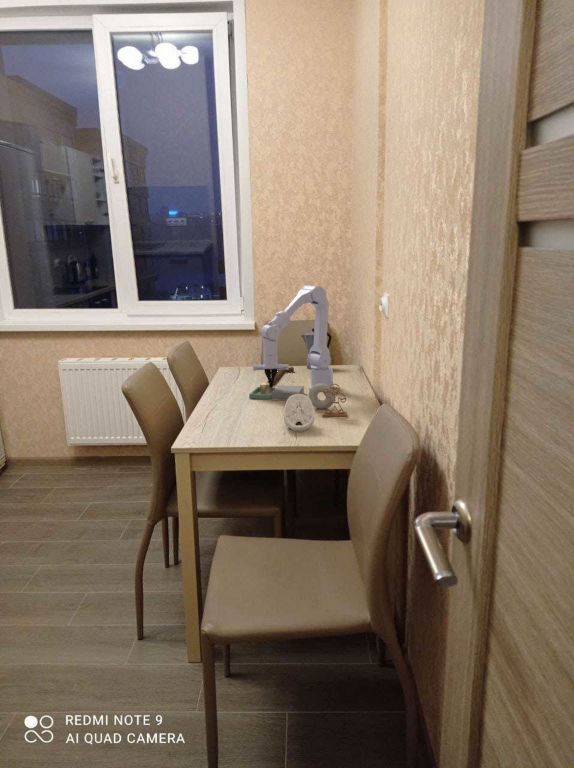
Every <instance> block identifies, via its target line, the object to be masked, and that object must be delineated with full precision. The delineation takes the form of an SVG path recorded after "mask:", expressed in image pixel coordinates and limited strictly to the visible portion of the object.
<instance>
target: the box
mask: <svg viewBox="0 0 574 768" xmlns="http://www.w3.org/2000/svg"><path fill="white" fill-rule="evenodd" d="M276 387H277V386H276ZM276 387H274V386H273V388H272V391H273V390H274V389H275V388H276ZM248 395H249V396H248V399H249V400H266V401H267V400H270V401H271V400H272V397H271V393H270V394H260V386H256V387H255V388H254V389H253V390H252V391H251V392H250V393H249V394H248Z"/></svg>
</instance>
